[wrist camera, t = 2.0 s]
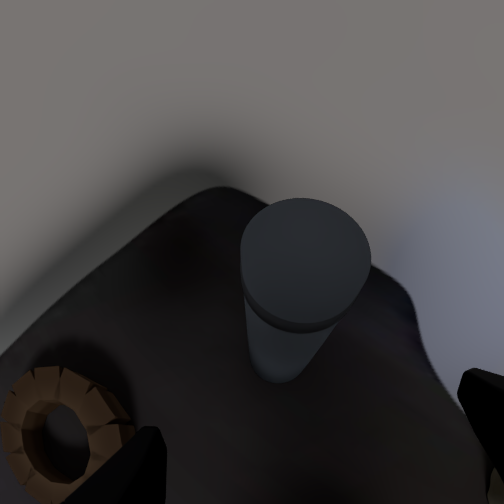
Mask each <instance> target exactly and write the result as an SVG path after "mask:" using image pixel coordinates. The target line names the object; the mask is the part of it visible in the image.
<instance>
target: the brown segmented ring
mask: <svg viewBox="0 0 504 504" xmlns="http://www.w3.org/2000/svg"><path fill="white" fill-rule="evenodd" d="M12 387H13V390H14V392H13V391H10V390H9V392H8V395H7V398H6V401H5V404H4V407H3V410H2V414H1V416H2V417H3V418H4V419H5V420H6V421H7V422H8V423H7V422H0V424H1V434H2V443H3V450H4V452H10V453H11V454H10V455H8V456H7V457H6V459H7V461H8V463H9V465H10V467H11V469H12V471H13V472H14V474H15V476H16V478H17V480H18V481H19V483H20V485H26V488H25V491H26V492H28V493H29V494H30V495H31V496H32V497H34V498H35V499H36V500H38V501H39V502H40V503H41V504H60V503H61V502H62V501H64V500H65V498H67V497H68V496H69V495H70V494H71V493H72V492H73V491H75V490H76V489H77V488H78V487H79V486H80V485H81V484H82V483H83V482H85V481H86V480H87V479H88V478H89V477H90V476H91V475H92V474H93V473H94V472H95V471H97V470H98V469H99V468H100V467H101V466H102V465H103V464H104V463H105V462H106V461H107V460H108V459H109V458H110V457H112V456H113V455H114V454H115V453H116V452H117V451H118V450H119V449H120V448H121V447H122V446H123V445H124V444H125V443H126V442H127V441H128V440H129V439H130V438H131V437H133V436H134V435H135V428H134V426H132V425H124V424H126V423H127V422H128V421H130V420H131V418H130V417H129V416H128V414H127V413H126V411H125V410H124V409H123V407H122V406H121V404H120V403H119V402H118V400H117V399H116V397H115V396H114V394H113V393H111V392H108V391H107V389H108V388H106V387H104V386H102V385H100V384H98V383H96V382H94V381H92V380H90V379H89V378H87V377H85V376H83V375H81V374H79V373H76V372H74V371H72V370H70V369H67V368H65V367H64V368H63V367H60V366H52V367H39V368H35V372H34V371H32V370H29V371H28V372H27V373H26V374H25V375H23V376H22V377H21V378H20V379H19V380H18V381H17V382H16V383H14V384H13V385H12ZM59 405H66V406H68V407H69V408H71V409H72V410H74V411H75V413H76V415H77V416H78V418H79V419H80V421H81V423H82V424H83V426H84V427H85V429H86V430H87V435H88V441H89V447H90V453H91V456H90V459H89V462H88V465H87V468H86V471H85V474H84V475H83V476H82V477H80V478H79V479H77V480H71V479H70V478H68V477H67V476H65V475H64V474H62V473H61V472H59V471H58V470H57V469H55V467H54V466H53V464H52V463H51V461H50V459H49V458H48V456H47V454H46V453H45V450H44V444H43V436H42V430H43V427H44V424H45V421H46V418H47V415H48V414H49V413H51V412H52V411H53V410H54V409H56V408H57V407H58V406H59Z"/></svg>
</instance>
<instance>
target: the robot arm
mask: <svg viewBox="0 0 504 504" xmlns="http://www.w3.org/2000/svg"><path fill="white" fill-rule="evenodd" d="M457 396H458V399H459V401H460V403H461V405H462V408H463V410H464V412H465V414H466V416H467V418H468V420H469V422H470V424H471V426H472V428H473V430H474V432H475V434H476V436H477V438H478V439H479V441H480V443H481V444H482V446H483V448H484V449H485V451H486V453H487V455H488V456H489V458H490V460H491V461H492V463H493V465H494V467H495V469H496V470H497V472H498V474H499V476H500V478H501V480H502V481H503V483H504V376H501V375H498V374H494V373H491V372H488V371H484V370H481V369H478V368H472V369H469V370H467V371H465V372H464V373H463V375H462V378H461V381H460V385H459V388H458V391H457ZM166 469H167V448H166V444H165V442H164V439H163V437H162V434H161V432H160V430H159V428H158V427H155V426H144V427H142V428H141V429H140V430H139V431H138V432H137V433H136V434H135V435H134V436H133V437H131V438H130V439H129V440H128V441H127V442H126V443H125V444H124V445H123V446H122V447H121V448H120V449H119V450H118V451H117V452H116V453H115V454H114V455H113V456H112V457H110V458H109V459H108V460H107V461H106V462H105V463H104V464H103V465H102V466H101V467H100V468H99V469H98V470H97V471H95V472H94V473H93V474H92V475H91V476H90V477H89V478H88V479H87V480H86V481H85V482H83V483H82V484H81V485H80V486H79V487H78V488H77V489H76V490H75V491H73V492H72V493H71V494H70V495H69V496H68V497H67V498H65V500H64V501H62V502H61V503H60V504H165V499H166Z"/></svg>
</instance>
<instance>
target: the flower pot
mask: <svg viewBox="0 0 504 504" xmlns="http://www.w3.org/2000/svg"><path fill="white" fill-rule="evenodd" d="M487 497H488V502H489V504H504V483H503V481H502V480H501V478H500V476H499V474H498V472H497V470H496V469H495V467H494V469H493V471H492V474H491V477H490V488H489V491H488V494H487Z"/></svg>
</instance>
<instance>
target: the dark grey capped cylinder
mask: <svg viewBox="0 0 504 504" xmlns="http://www.w3.org/2000/svg"><path fill="white" fill-rule="evenodd" d="M240 250H241V261H240V274H241V284H242V290H243V293H244V300H245V311H246V322H247V333H248V344H249V355H250V362H251V366H252V368H253V370H254V371H255V373H256V374H257V375H258V376H259V377H261V378H262V379H264V380H266V381H268V382H271V383H285V382H288V381H291V380H293V379H294V378H296V377H297V376H298V375H299V374H300V373H301V372H302V370H303V369H304V368H305V367H306V365H307V364H308V363H309V361H310V360H311V359H312V358H313V356H314V355H315V354H316V352H317V351H318V350H319V348H320V347H321V346H322V344H323V343H324V341H325V340H326V339H327V337H328V336H329V335H330V333H331V332H332V330H333V329H334V328H335V326H336V325H337V323H338V322H339V321H340V319H342V318H343V317H344V316H345V314H346V313H347V312H348V310H349V309H350V308H351V306H352V305H353V303H354V302H355V300H356V299H357V297H358V295H359V293H360V290H361V288H362V287H363V285H364V283H365V281H366V280H367V277H368V274H369V272H370V266H371V252H370V247H369V243H368V241H367V238H366V236H365V234H364V232H363V231H362V229H361V228H360V227H359V225H358V224H357V223H356V222H355V221H354V220H353V218H351V217H350V216H349V215H348V214H347V213H345V212H344V211H342V210H341V209H339V208H337V207H335V206H334V205H331V204H329V203H326V202H323V201H319V200H314V199H308V198H293V199H287V200H282V201H279V202H276V203H273V204H271V205H269V206H267V207H265V208H264V209H262V210H261V211H260V212H258V213H257V214H256V215H255V216H254V217H253V218H252V219H251V221H250V222H249V224H248V225H247V227H246V229H245V231H244V233H243V236H242V240H241V247H240Z"/></svg>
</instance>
